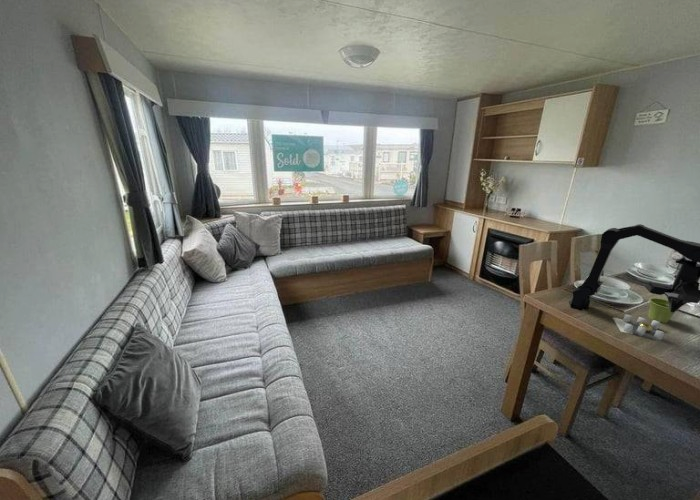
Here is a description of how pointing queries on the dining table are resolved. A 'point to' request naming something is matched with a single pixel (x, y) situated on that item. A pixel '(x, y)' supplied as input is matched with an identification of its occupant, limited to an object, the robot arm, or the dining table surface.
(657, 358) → the dining table surface
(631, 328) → the board
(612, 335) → the dining table surface
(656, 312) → the plant pot
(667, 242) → the robot arm
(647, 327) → the brass knob
